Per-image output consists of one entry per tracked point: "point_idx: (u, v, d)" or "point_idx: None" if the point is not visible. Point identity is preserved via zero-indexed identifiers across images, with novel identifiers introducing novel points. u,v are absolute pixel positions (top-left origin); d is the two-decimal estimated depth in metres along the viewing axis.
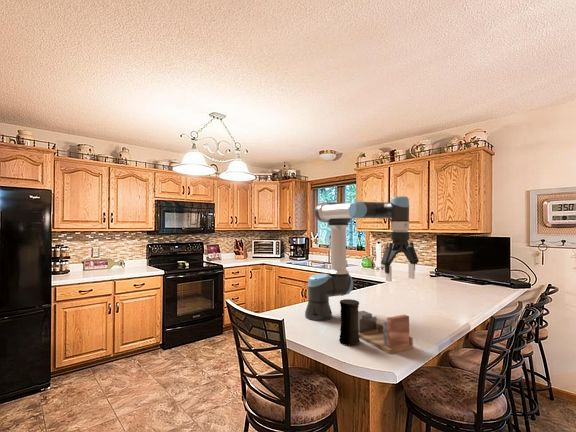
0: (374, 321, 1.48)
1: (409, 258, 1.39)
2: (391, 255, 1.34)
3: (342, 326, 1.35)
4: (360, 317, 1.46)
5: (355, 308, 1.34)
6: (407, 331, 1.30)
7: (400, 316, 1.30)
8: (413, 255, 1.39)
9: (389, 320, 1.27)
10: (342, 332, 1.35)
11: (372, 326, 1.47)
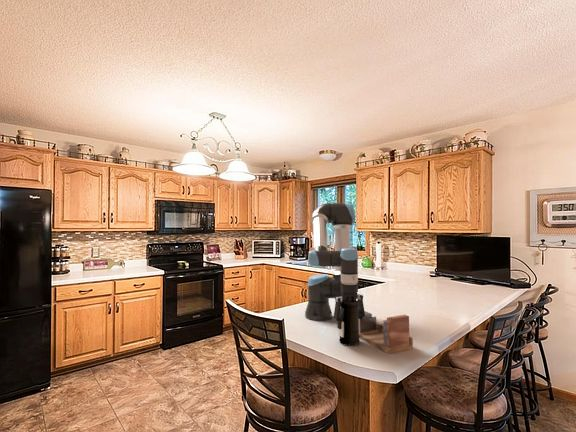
0: (374, 321, 1.48)
1: None
2: (342, 310, 1.35)
3: None
4: None
5: (355, 308, 1.34)
6: (407, 331, 1.30)
7: (400, 316, 1.30)
8: (360, 308, 1.39)
9: (389, 320, 1.27)
10: None
11: (372, 326, 1.47)
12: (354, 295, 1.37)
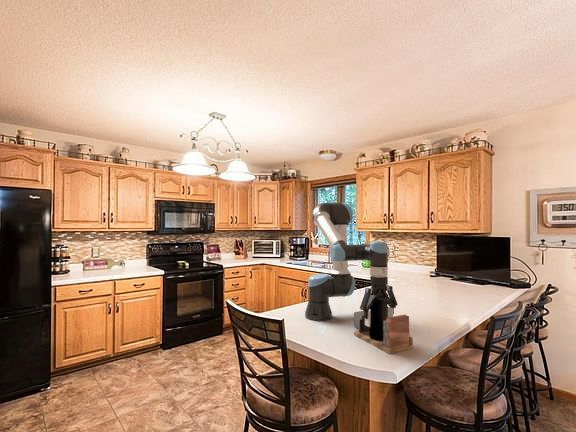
0: None
1: (388, 302, 1.41)
2: (370, 300, 1.36)
3: (372, 321, 1.37)
4: (360, 317, 1.46)
5: (385, 303, 1.35)
6: (407, 331, 1.30)
7: (400, 316, 1.30)
8: (392, 299, 1.41)
9: (389, 320, 1.27)
10: (373, 328, 1.36)
11: None
12: (384, 288, 1.39)
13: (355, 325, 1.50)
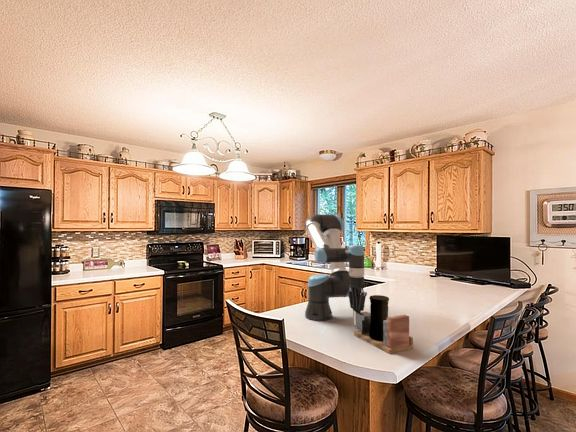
0: None
1: None
2: None
3: (372, 321, 1.37)
4: (362, 318, 1.45)
5: (385, 304, 1.35)
6: (407, 331, 1.30)
7: (400, 316, 1.30)
8: None
9: (389, 320, 1.27)
10: (373, 328, 1.36)
11: None
12: (357, 287, 1.51)
13: (357, 326, 1.48)
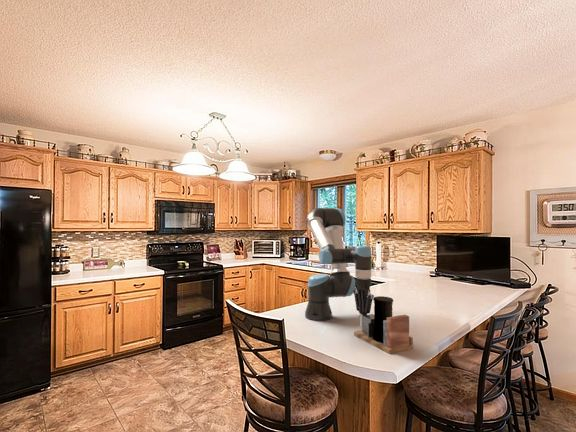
0: None
1: None
2: None
3: (376, 323, 1.34)
4: (369, 321, 1.41)
5: (390, 305, 1.33)
6: (407, 331, 1.30)
7: (400, 316, 1.30)
8: None
9: (389, 320, 1.27)
10: (377, 329, 1.34)
11: None
12: (364, 289, 1.47)
13: (363, 329, 1.44)
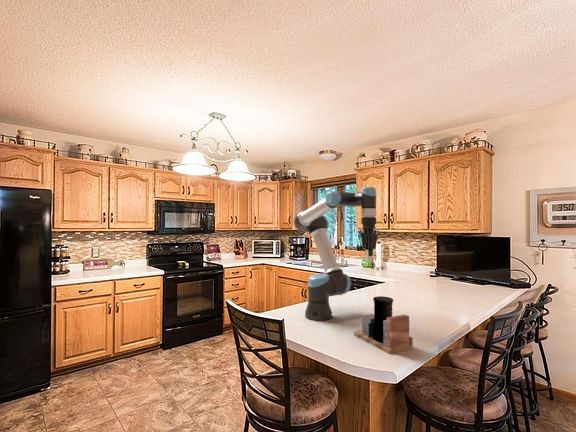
0: None
1: None
2: None
3: (376, 323, 1.34)
4: (369, 321, 1.41)
5: (389, 305, 1.33)
6: (407, 331, 1.30)
7: (400, 316, 1.30)
8: None
9: (389, 320, 1.27)
10: (377, 329, 1.34)
11: None
12: (369, 226, 1.58)
13: (363, 329, 1.44)
